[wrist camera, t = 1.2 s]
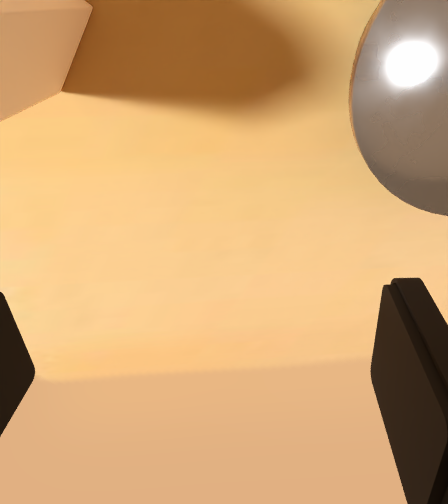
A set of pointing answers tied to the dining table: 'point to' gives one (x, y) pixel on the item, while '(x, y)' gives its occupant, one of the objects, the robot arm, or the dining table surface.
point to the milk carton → (37, 49)
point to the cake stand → (404, 100)
